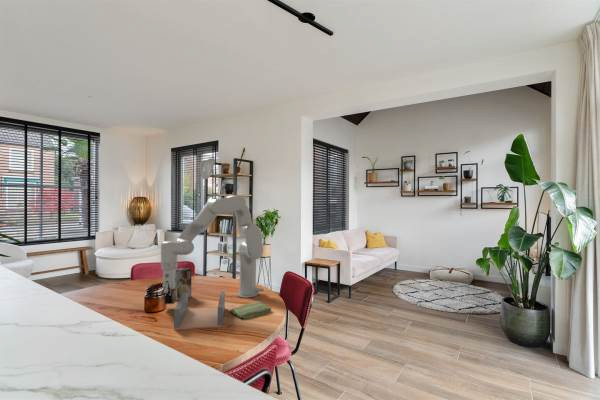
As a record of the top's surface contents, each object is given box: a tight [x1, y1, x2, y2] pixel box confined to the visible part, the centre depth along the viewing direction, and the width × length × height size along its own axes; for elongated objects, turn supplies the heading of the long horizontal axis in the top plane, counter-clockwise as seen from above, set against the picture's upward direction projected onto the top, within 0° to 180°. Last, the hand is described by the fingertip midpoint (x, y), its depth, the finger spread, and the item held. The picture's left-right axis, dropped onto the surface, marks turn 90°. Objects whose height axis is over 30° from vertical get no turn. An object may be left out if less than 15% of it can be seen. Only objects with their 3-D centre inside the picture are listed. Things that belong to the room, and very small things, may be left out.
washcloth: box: [229, 300, 272, 320], centre depth 153 cm, size 13×18×3 cm
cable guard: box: [173, 291, 226, 331], centre depth 144 cm, size 20×23×9 cm
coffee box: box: [174, 267, 192, 301], centre depth 174 cm, size 9×6×16 cm
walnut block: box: [163, 289, 177, 305], centre depth 156 cm, size 5×5×6 cm
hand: (169, 300), depth 156 cm, fingers closed on walnut block, 5 cm apart
